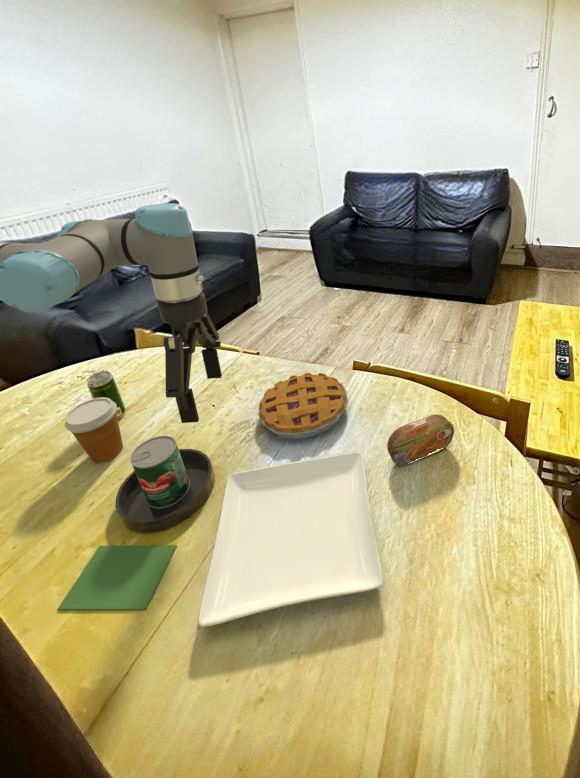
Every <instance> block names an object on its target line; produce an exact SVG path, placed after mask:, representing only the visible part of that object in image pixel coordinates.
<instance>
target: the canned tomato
mask: <svg viewBox="0 0 580 778" xmlns="http://www.w3.org/2000/svg"><path fill="white" fill-rule="evenodd" d="M179 449H180V448H179V446H178V443H177V439H176V438H174V437H172V436H171V435H157V436H155V437H152V438H149V439H147V440H145V441H143V442H141V443H140V444H139V445H138V446H137V447H136V448H135V449H134V450H133V452H132V453H131V455H130V459H129V460H130V461H129V462H130V464H131V465H132V467H133V471H135V473H136V475H137V478H138V480H139V483H140V485H141V488H142V490H143V492H144V495H145V497H146V499H147V503H148V504H149V506H150V507H152V508H155V509H162V508H167V507H169V506H172V505H174V504H176V503H177V502H179V501H180V500H181V499H182V498H183V497H184V496H185V495H186V494H187V492H188V490H189V488H190V481H189V479H188V475H187V472H186V469H185V466H184V463H183V460H182V457H181V455H180V452H179Z"/></svg>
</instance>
